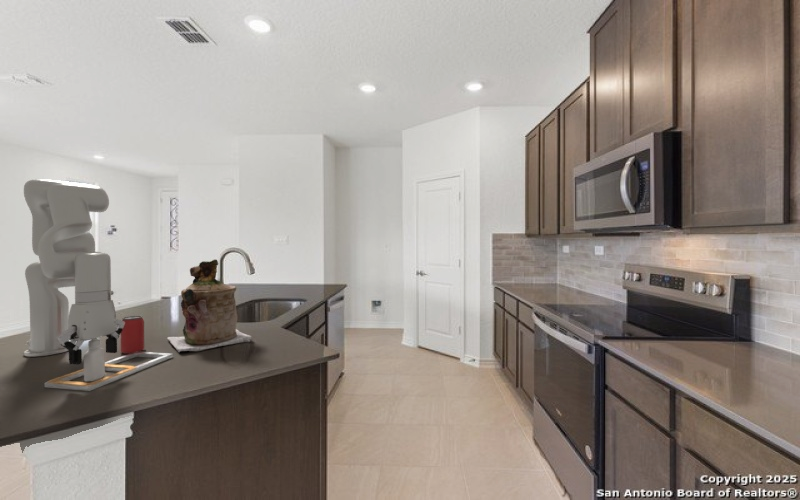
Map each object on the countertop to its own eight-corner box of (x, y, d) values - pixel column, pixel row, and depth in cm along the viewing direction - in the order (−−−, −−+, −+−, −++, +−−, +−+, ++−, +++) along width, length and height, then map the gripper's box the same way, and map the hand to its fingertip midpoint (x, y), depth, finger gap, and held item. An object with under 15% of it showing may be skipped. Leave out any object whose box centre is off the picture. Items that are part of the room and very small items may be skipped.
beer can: (131, 354, 117) (131, 319, 117) (115, 353, 118) (115, 318, 118) (149, 349, 123) (148, 315, 123) (134, 347, 125) (133, 314, 124)
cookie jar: (233, 330, 151) (232, 257, 150) (253, 342, 133) (253, 259, 132) (165, 340, 134) (164, 258, 133) (179, 356, 116) (178, 261, 115)
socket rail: (44, 387, 91) (44, 381, 91) (136, 354, 117) (136, 350, 117) (89, 390, 88) (89, 385, 88) (173, 357, 115) (173, 353, 115)
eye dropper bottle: (77, 381, 95) (76, 337, 94) (100, 373, 100) (99, 332, 100) (88, 383, 93) (88, 339, 93) (111, 375, 99) (110, 333, 98)
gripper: (112, 292, 105) (113, 348, 105) (46, 301, 88) (47, 368, 88) (133, 293, 104) (134, 349, 104) (70, 302, 87) (71, 370, 87)
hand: (94, 358), depth 96 cm, fingers open, 9 cm apart
